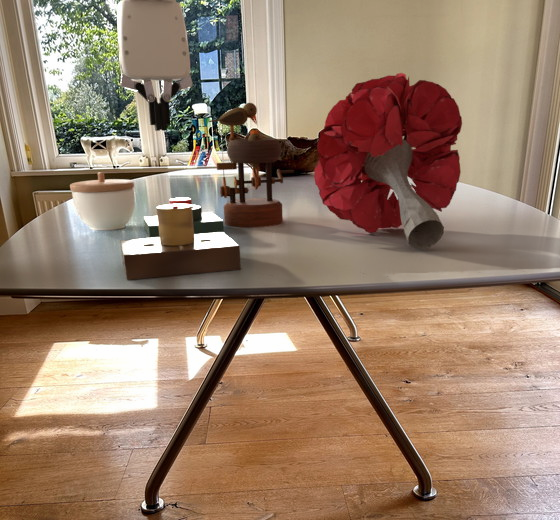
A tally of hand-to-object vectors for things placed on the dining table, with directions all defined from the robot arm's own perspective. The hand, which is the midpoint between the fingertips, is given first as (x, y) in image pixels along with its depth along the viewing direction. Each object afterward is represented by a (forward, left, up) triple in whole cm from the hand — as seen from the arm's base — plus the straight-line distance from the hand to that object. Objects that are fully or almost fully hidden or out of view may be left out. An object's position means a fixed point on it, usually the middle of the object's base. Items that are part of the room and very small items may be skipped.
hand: (160, 130), depth 93 cm
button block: (+2, +1, -16) cm, 16 cm away
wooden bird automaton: (+16, +5, -16) cm, 23 cm away
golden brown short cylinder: (-2, -24, -13) cm, 27 cm away
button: (+2, +1, -12) cm, 13 cm away
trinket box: (-10, +11, -16) cm, 22 cm away
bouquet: (+32, -15, -16) cm, 39 cm away
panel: (-2, -24, -16) cm, 29 cm away
